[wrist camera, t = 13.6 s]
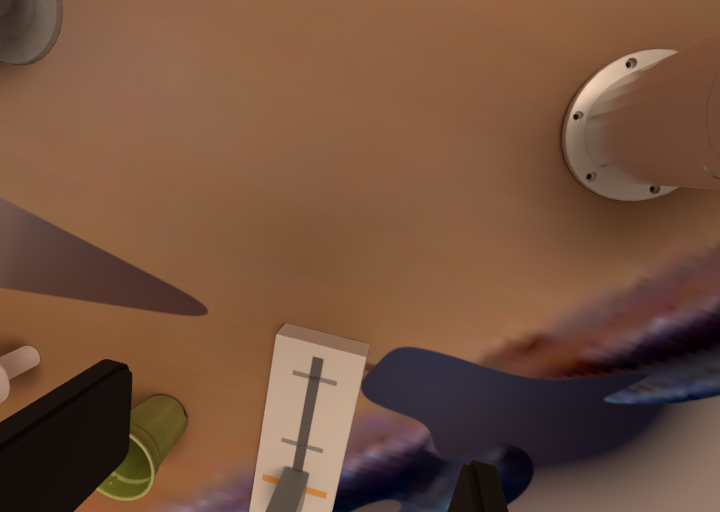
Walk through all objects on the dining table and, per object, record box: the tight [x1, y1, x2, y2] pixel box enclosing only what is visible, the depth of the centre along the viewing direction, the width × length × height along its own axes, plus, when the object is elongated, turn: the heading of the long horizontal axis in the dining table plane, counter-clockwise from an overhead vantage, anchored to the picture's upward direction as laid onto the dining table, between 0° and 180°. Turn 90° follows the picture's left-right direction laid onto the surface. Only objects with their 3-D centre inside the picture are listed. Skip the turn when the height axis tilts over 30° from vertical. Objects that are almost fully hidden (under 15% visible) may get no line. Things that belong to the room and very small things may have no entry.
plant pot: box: [97, 395, 187, 501], centre depth 45 cm, size 9×9×9 cm
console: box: [249, 323, 370, 512], centre depth 44 cm, size 10×26×3 cm, turn 169°
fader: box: [265, 467, 309, 512], centre depth 41 cm, size 3×5×6 cm, turn 169°
